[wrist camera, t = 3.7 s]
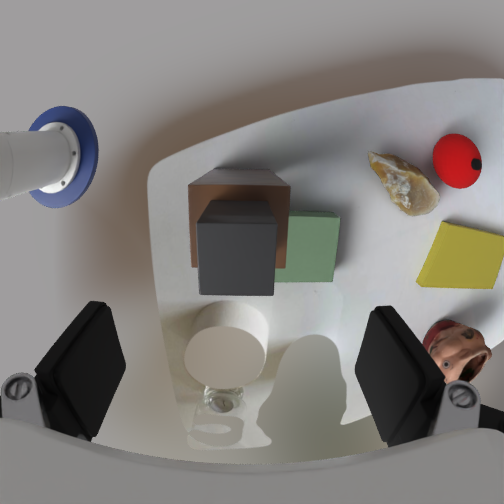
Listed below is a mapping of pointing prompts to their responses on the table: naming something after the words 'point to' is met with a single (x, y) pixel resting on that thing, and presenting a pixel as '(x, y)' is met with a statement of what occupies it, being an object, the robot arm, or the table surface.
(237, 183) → the tall brown wooden block
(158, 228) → the table surface
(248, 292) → the block
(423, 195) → the stone
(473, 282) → the flat olive board
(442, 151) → the ornament
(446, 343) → the face mug
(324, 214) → the sage green square slab
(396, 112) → the table surface
